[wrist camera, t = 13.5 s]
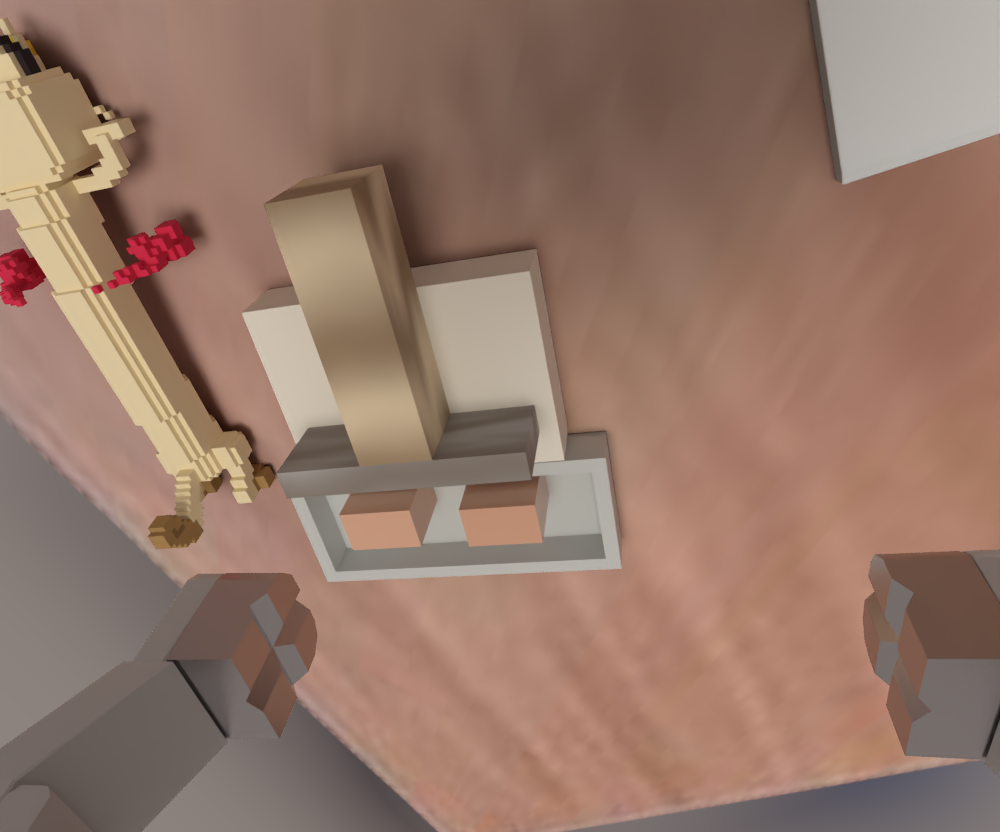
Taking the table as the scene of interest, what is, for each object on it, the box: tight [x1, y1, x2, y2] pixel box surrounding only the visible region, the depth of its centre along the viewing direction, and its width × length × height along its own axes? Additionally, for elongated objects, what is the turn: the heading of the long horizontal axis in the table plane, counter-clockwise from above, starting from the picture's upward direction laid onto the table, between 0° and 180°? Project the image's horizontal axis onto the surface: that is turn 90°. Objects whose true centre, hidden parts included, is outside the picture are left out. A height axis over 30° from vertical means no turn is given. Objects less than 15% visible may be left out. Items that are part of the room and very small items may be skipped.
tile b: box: [459, 475, 549, 547], centre depth 37 cm, size 4×4×2 cm
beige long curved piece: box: [0, 18, 275, 549], centre depth 33 cm, size 10×9×25 cm
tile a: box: [339, 487, 437, 550], centre depth 39 cm, size 4×4×2 cm
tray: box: [291, 431, 622, 582], centre depth 40 cm, size 8×18×2 cm, turn 101°
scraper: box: [263, 165, 540, 499], centre depth 30 cm, size 14×12×4 cm
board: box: [242, 249, 568, 463], centre depth 35 cm, size 10×14×3 cm
